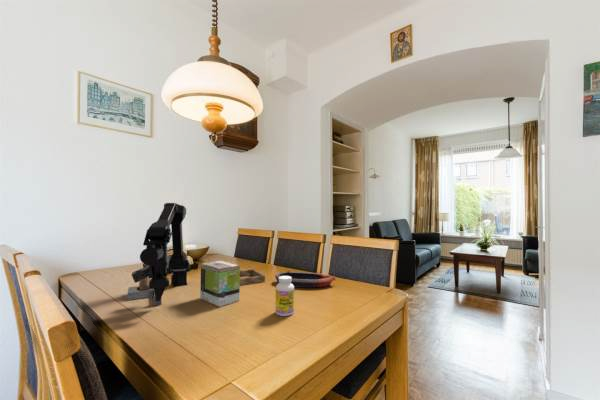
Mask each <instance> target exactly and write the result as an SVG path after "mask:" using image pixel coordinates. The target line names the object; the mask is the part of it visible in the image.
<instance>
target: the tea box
mask: <svg viewBox="0 0 600 400" xmlns="http://www.w3.org/2000/svg"><path fill="white" fill-rule="evenodd" d="M240 267H241V264H236V263H232V262H229V261H225V260H216V261H210V262H203V263H201V264H200V292H199V293H200V299H202V300H204V301H206V302H208V303H210V304H212V305H215V306H216V307H223V306H226V305H229V304H230V305H231V304H234V303H236V302H240V296H241V295H240V293H241V292H240V288H241V287H240V286H241V285H240V279H241V277H240V271H241V270H240V269H241V268H240Z"/></svg>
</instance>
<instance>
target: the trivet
mask: <svg viewBox="0 0 600 400" xmlns="http://www.w3.org/2000/svg"><path fill="white" fill-rule="evenodd" d="M247 275H249V276H251V277H249V276H247ZM246 276H247V277H246ZM241 277H244V278H241ZM264 281H265V282H266V276H265V275H264V274H262V273H261V272H259V271H257V270H255V269H254V268H251V269H243V270H240V286H244V285H245V284H246V285H252V283H253V284H258V282H259V283H264ZM246 285H245V286H246Z"/></svg>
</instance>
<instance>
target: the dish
mask: <svg viewBox="0 0 600 400" xmlns="http://www.w3.org/2000/svg"><path fill="white" fill-rule="evenodd" d="M280 276H290V277H292V281H291V284H293V285H294V288H309V289H310V288H311V289H314V288H315V287H317V288H324V287H328V286H330V285H331V284H332V283H333V282H334V281H336V279H337V278H336V276H333V275H329V274H324V273H319V272H318V273H316V272H303V271H302V272H301V271H300V272H299V271H290V270H287V271H285V272H278V273H275V275H274V278H275V280H276V281H277V283H279V277H280ZM323 286H324V287H323Z"/></svg>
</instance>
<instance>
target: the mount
mask: <svg viewBox="0 0 600 400" xmlns="http://www.w3.org/2000/svg"><path fill="white" fill-rule="evenodd" d="M153 296H154V289H146V290H139V285H136V286H130V287H129V286H128V290H127V301H132V300H133V301H134V300H138V299H139V300H140V298H141V299H146V298H147V297H148V298H153Z"/></svg>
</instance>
